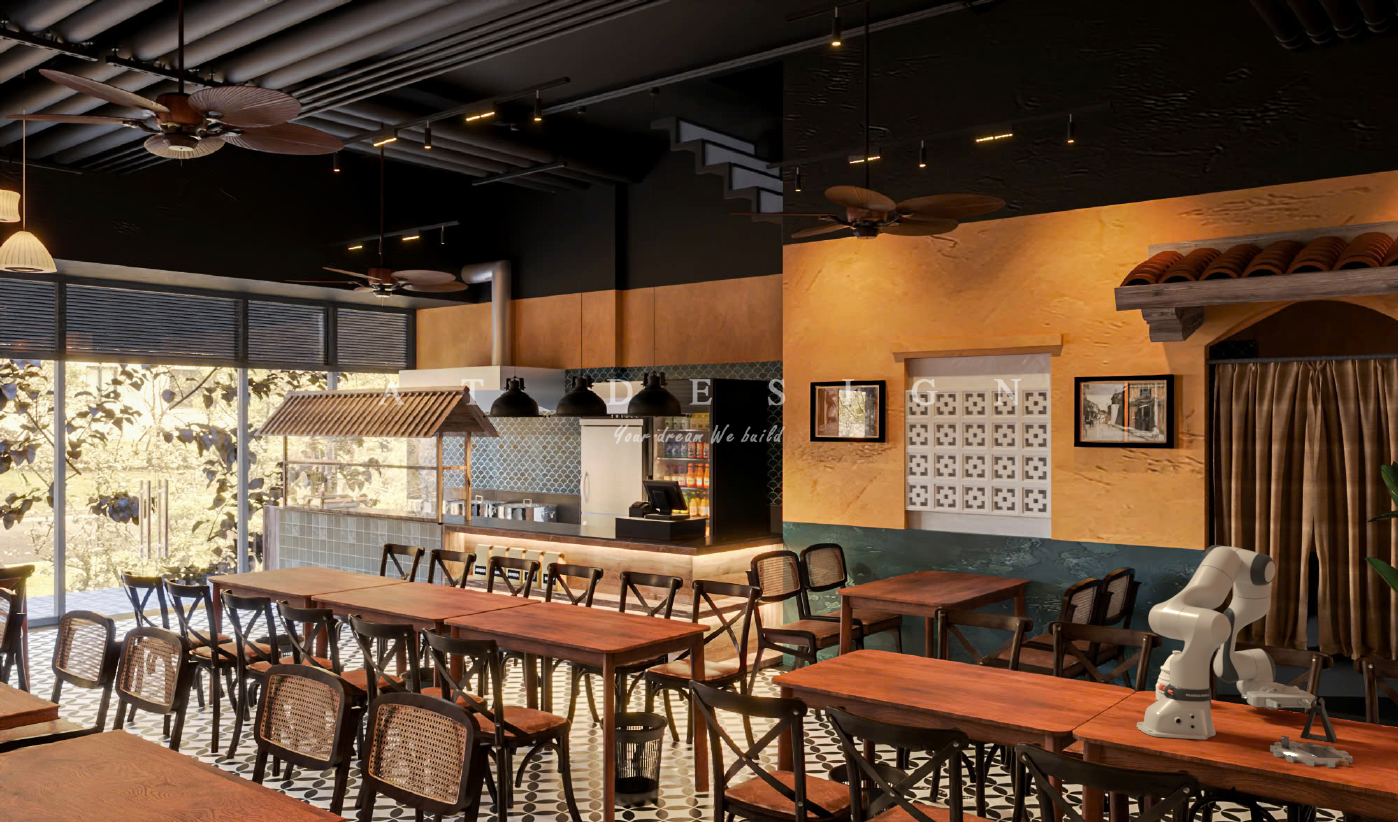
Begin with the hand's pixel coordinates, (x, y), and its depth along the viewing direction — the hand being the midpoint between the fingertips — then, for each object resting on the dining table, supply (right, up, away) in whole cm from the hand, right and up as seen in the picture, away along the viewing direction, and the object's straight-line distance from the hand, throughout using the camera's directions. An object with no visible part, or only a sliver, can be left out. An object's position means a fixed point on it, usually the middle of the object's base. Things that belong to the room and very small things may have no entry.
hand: (1293, 705), depth 324 cm
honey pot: (-23, -8, +31) cm, 39 cm away
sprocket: (-14, -5, -32) cm, 35 cm away
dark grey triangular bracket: (0, -6, -14) cm, 15 cm away
